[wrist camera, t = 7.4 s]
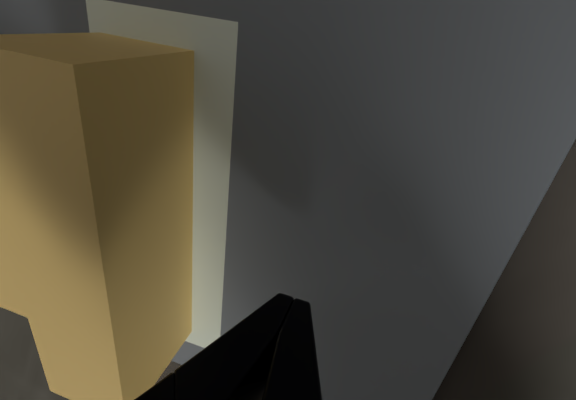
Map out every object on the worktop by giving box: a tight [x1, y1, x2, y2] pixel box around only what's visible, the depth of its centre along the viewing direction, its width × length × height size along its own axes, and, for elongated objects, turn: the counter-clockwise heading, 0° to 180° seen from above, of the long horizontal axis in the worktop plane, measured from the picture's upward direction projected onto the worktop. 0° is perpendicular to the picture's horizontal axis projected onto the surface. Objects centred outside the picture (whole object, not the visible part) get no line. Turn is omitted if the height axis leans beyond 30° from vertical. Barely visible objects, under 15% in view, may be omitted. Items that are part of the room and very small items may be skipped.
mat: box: [0, 0, 576, 400], centre depth 12 cm, size 20×16×1 cm
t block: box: [0, 32, 194, 400], centre depth 11 cm, size 9×11×4 cm
